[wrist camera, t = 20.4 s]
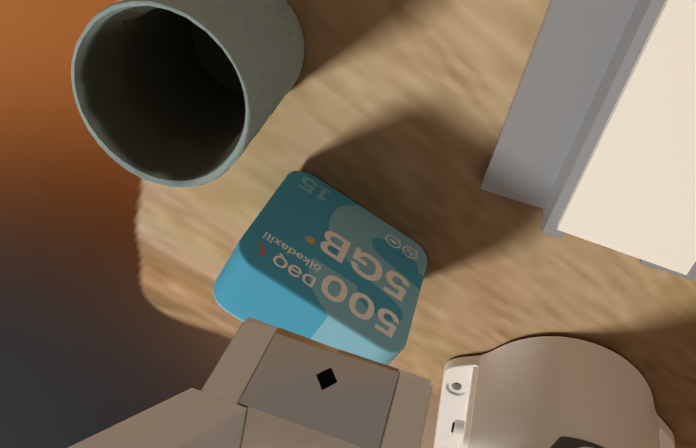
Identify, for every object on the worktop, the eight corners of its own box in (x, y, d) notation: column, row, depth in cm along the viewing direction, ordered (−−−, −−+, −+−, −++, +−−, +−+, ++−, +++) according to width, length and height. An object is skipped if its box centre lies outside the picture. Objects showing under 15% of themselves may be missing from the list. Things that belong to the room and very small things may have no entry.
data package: (431, 250, 48) (403, 360, 38) (399, 287, 51) (364, 399, 41) (296, 162, 47) (230, 251, 37) (270, 204, 50) (202, 299, 40)
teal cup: (191, 108, 47) (98, 183, 37) (161, -40, 42) (43, 2, 32) (324, 111, 45) (262, 193, 35) (309, -46, 39) (231, -2, 29)
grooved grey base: (716, 256, 43) (733, 300, 39) (481, 182, 44) (475, 217, 40) (962, -106, 30) (1024, -96, 26) (624, -191, 32) (635, -193, 28)
